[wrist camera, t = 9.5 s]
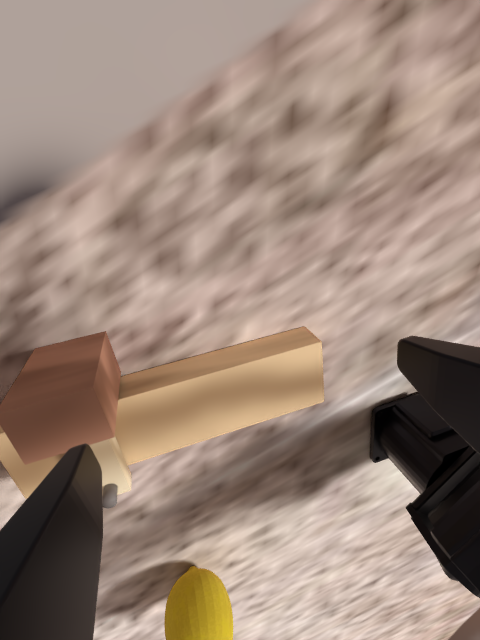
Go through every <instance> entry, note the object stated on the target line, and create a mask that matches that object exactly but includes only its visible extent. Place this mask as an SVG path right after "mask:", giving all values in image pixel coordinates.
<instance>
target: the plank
mask: <svg viewBox="0 0 480 640" xmlns="http://www.w3.org/2000/svg"><path fill="white" fill-rule="evenodd" d="M321 402H324V383H323V360H322V341H320V340H319V339H318V338H317V337H316V336H315V335H314V334H313V333H311V332H310V331H309V330H308V329H307V328H306V327H305V326H304V327H300V328H297V329H293V330H289V331H286V332H282V333H278V334H275V335H271V336H267V337H264V338H260V339H256V340H253V341H249V342H245V343H242V344H238V345H235V346H231V347H227V348H224V349H220V350H216V351H213V352H209V353H205V354H202V355H198V356H194V357H191V358H187V359H183V360H180V361H176V362H172V363H169V364H165V365H161V366H158V367H154V368H150V369H147V370H143V371H139V372H136V373H132V374H128V375H125V376H121V377H120V386H119V397H118V407H117V417H116V427H115V437H116V440H117V442H118V444H119V447H120V449H121V451H122V454H123V456H124V458H125V461H126V463H127V465H131V464H134V463H137V462H140V461H143V460H146V459H149V458H152V457H155V456H158V455H161V454H164V453H167V452H171V451H174V450H177V449H180V448H183V447H186V446H189V445H192V444H195V443H198V442H201V441H204V440H208V439H211V438H214V437H217V436H220V435H223V434H226V433H229V432H232V431H235V430H238V429H241V428H244V427H248V426H251V425H254V424H257V423H260V422H263V421H266V420H269V419H272V418H275V417H278V416H281V415H284V414H288V413H291V412H294V411H297V410H300V409H303V408H306V407H309V406H312V405H315V404H318V403H321ZM64 454H65V453H62V454H59V455H56V456H53V457H49V458H46V459H43V460H40V461H36V462H33V463H30V464H27V465H25V464H24V463H23V461H22V459H21V458H20V456H19V455H18V453H17V451H16V450H15V448H14V447H13V445H12V443H11V442H10V440H9V439H8V437H7V435H6V434H5V432H4V431H3V429H2V427H1V426H0V461H1V462H2V464H3V465H4V467H5V468H6V470H7V471H8V473H9V474H10V476H11V477H12V479H13V480H14V482H15V483H16V485H17V487H18V488H19V490H20V491H21V493H22V494H23V496H24V497H25V499H26V498H28V497H29V496H30V495H31V494H32V492H33V491H34V490H35V489H36V488H37V487H38V485H39V484H40V483H41V482H42V481H43V479H44V478H45V477H46V476H47V475H48V473H49V472H50V471H51V470H52V469H53V467H54V466H55V465H56V464H57V463H58V462H59V460H60V459H61V458H62V457H63V456H64Z"/></svg>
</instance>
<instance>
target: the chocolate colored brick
mask: <svg viewBox="0 0 480 640" xmlns="http://www.w3.org/2000/svg"><path fill="white" fill-rule="evenodd" d="M120 376H121V371H120V368H119V366H118V363H117V360H116V357H115V355H114V352H113V349H112V347H111V344H110V341H109V339H108V336H107V333H106V331H105V332H101V333H97V334H93V335H88V336H84V337H80V338H76V339H72V340H68V341H64V342H60V343H56V344H52V345H48V346H44V347H40V348H36V349H34V351H33V353H32V354H31V356H30V357H29V359H28V361H27V362H26V364H25V366H24V367H23V369H22V370H21V372H20V374H19V375H18V377H17V378H16V380H15V382H14V383H13V385H12V386H11V388H10V390H9V391H8V393H7V394H6V396H5V398H4V399H3V401H2V402H1V404H0V426H1V427H2V429H3V431H4V432H5V434H6V435H7V437H8V439H9V440H10V442H11V443H12V445H13V447H14V448H15V450H16V451H17V453H18V455H19V456H20V458H21V459H22V461H23V463H24V464H25V465H27V464H30V463H33V462H36V461H40V460H43V459H46V458H49V457H53V456H56V455H59V454H62V453H66V452H67V451H68V450H69V449H70V448H72V447H75V446H78V445H81V444H84V443H86V444H88V445H89V446H90V447H91V449H92V451H93V453H94V455H95V456H96V458H97V460H98V462H99V464H100V466H101V470H102V498H103V507H104V508H112V507H114V506H115V505H116V503H117V495H119V494H122V493H125V492H128V491H131V472H130V470H129V468H128V465H127V463H126V461H125V458H124V456H123V454H122V451H121V449H120V447H119V444H118V442H117V440H116V437H115V427H116V417H117V407H118V397H119V386H120Z"/></svg>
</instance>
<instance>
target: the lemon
mask: <svg viewBox="0 0 480 640" xmlns="http://www.w3.org/2000/svg"><path fill="white" fill-rule="evenodd" d="M165 636H166V640H233V615H232V608H231V603H230V599H229V596H228V593H227V591H226V589H225V587H224V584H223V583H222V581H221V580H220V579H219V577H218V576H216V575H215V574H214V573H213V572H211V571H209V570H207V569H201V568H200V569H198V568H197V567H195V566H192V567H190V568H189V569H188V571H187V572H186V573H185V574H183V575H182V576H181V577H180V578H179V579H178V580H177V581H176V583H175V584H174V586H173V588H172V590H171V592H170V594H169V596H168V600H167V604H166V611H165Z"/></svg>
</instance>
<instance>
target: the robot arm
mask: <svg viewBox="0 0 480 640" xmlns="http://www.w3.org/2000/svg"><path fill="white" fill-rule="evenodd" d="M397 365H398V368H399V370H400V371H401V372H402V374H403V375H404V376H405V377H406V378H407V379H408V381H409V382H410V383H411V384H412V385H413V386H414V388H415V389H416V390H417V391H418V392H419V393H417V394H414V395H411V396H408V397H405V398H402V399H399V400H397V401H394V402H391V403H388V404H385V405H382V406H379V407H376V408H375V409H374V410H373V411H372V424H371V450H370V458H371V460H372V461H373V462H374V463H376V462H379V461H382V460H385V459H387V458H389V459H390V460H391V461H392V462H393V463H394V465H395V466H396V467H397V468H398V469H399V470H400V471H401V472H402V474H403V475H404V476H405V477H406V478H407V479H408V480H409V481H410V483H411V484H412V485H413V486H414V487H415V488H416V489H417V490H418V491H419V493H420V495H419V496H418V497H417V498H416V499H415V500H414V501H413V502H412V503H409V504H408V505H407V506H406V509H407V511H408V512H409V514H410V515H411V519H412V521H413V522H414V524H415V525H416V527H417V528H418V530H419V531H420V533H421V534H422V536H423V537H424V539H425V540H426V542H427V543H428V545H429V546H430V548H431V549H432V551H433V552H434V554H435V555H436V557H437V559H438V561H439V563H440V565H441V567H442V569H443V571H444V572H445V574H446V575H447V576H448V577H449V578H450V579H452V580H456V581H459V582H460V583H461V584H463V585H464V586H465V587H466V588H467V589H468V590H469V591H470V592H471V593H473V594H474V595H476V596H477V597H479V598H480V347H474V346H469V345H463V344H457V343H451V342H446V341H440V340H434V339H429V338H423V337H417V336H409V337H406V338H403V339H401V340H399V342H398V349H397ZM102 539H103V498H102V470H101V466H100V464H99V462H98V460H97V458H96V456H95V455H94V453H93V451H92V449H91V447H90V446H89V445H88V444H86V443H84V444H81V445H78V446H75V447H72V448H70V449H69V450H68V451H67V452H66V453H65V454H64V456H63V457H62V458H61V459H60V460H59V462H58V463H57V464H56V465H55V466H54V467H53V469H52V470H51V471H50V472H49V473H48V475H47V476H46V477H45V478H44V479H43V481H42V482H41V483H40V484H39V485H38V487H37V488H36V489H35V490H34V491H33V492H32V494H31V495H30V496H29V497H28V498H27V500H26V501H25V502H24V503H23V504H22V506H21V507H20V508H19V509H18V510H17V511H16V513H15V514H14V515H13V516H12V517H11V519H10V520H9V521H8V522H7V523H6V525H5V526H4V527H3V528H2V529H1V530H0V640H93V634H94V623H95V613H96V603H97V592H98V582H99V572H100V562H101V551H102Z"/></svg>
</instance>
